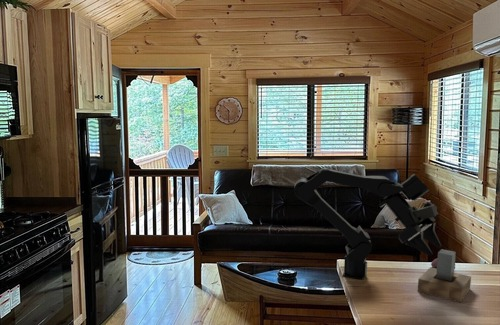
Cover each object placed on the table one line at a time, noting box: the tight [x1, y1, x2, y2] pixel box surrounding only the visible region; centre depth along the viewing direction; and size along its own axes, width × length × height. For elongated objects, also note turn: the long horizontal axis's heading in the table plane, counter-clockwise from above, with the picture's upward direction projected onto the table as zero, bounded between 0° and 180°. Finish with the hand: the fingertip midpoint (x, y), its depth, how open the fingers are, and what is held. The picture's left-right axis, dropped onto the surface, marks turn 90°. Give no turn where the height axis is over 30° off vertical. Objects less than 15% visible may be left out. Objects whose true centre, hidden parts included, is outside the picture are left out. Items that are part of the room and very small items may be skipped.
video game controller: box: [430, 257, 456, 270], centre depth 148 cm, size 10×5×7 cm, turn 169°
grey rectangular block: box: [436, 248, 457, 283], centre depth 132 cm, size 4×4×12 cm
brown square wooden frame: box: [417, 266, 472, 304], centre depth 133 cm, size 12×12×4 cm
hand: (436, 251), depth 133 cm, fingers open, 9 cm apart
